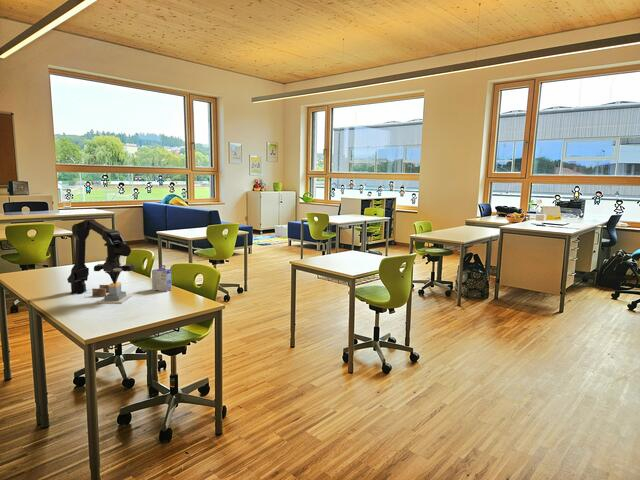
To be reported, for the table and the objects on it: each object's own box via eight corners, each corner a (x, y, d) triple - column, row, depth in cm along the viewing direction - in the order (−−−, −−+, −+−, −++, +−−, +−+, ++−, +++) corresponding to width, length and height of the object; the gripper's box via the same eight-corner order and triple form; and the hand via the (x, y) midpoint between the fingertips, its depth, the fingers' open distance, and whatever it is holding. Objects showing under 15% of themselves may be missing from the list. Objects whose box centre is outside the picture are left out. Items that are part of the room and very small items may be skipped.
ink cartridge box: (172, 289, 259) (171, 265, 257) (167, 291, 253) (166, 267, 251) (157, 288, 261) (156, 264, 259) (151, 290, 255) (150, 266, 253)
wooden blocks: (92, 296, 242) (92, 289, 242) (100, 291, 252) (100, 284, 251) (105, 296, 242) (105, 289, 242) (113, 291, 252) (112, 284, 251)
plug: (109, 299, 232) (108, 285, 231) (114, 296, 238) (113, 282, 237) (117, 299, 233) (116, 285, 231) (121, 296, 239) (120, 282, 237)
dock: (98, 303, 228) (97, 297, 228) (110, 296, 242) (109, 290, 242) (121, 303, 229) (121, 297, 228) (132, 296, 243) (131, 290, 242)
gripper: (87, 257, 224) (89, 287, 226) (125, 257, 224) (126, 287, 227) (97, 253, 235) (99, 282, 237) (133, 253, 236) (134, 282, 238)
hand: (114, 283), depth 234 cm, fingers closed
